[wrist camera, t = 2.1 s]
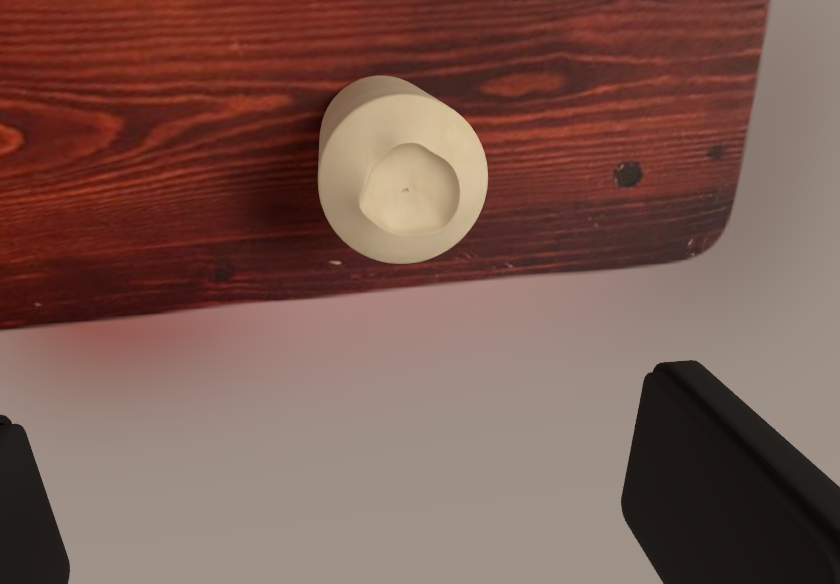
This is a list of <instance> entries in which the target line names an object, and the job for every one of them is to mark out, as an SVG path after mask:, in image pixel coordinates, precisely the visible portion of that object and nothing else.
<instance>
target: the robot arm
mask: <svg viewBox="0 0 840 584" xmlns="http://www.w3.org/2000/svg"><path fill="white" fill-rule="evenodd" d="M621 505H622V512H623V516H624V518H625V521H626V522H627V524H628V526H629V527H630V529H631V531H632V533H633V534H634V536H635V538H636V539H637V541H638V542H639V544H640V546H641V547H642V549H643V551H644V552H645V554H646V556H647V557H648V559H649V560H650V562H651V564H652V565H653V567H654V569H655V570H656V572H657V574H658V575H659V577H660V578H661V580H662V582H663V583H664V584H840V487H839V486H838V485H837V484H835V483H834V482H833V481H832V480H831V479H830V478H829V477H828V476H826V475H825V474H824V473H823V472H822V471H821V470H820V469H818V468H817V467H816V466H815V465H814V464H813V463H812V462H811V461H810V460H808V459H807V458H806V457H805V456H804V455H803V454H802V453H800V452H799V451H798V450H797V449H796V448H795V447H794V446H793V445H792V444H790V443H789V442H788V441H787V440H786V439H785V438H784V437H782V436H781V435H780V434H779V433H778V432H777V431H776V430H775V429H774V428H772V427H771V426H770V425H769V424H768V423H767V422H766V421H765V420H763V419H762V418H761V417H760V416H759V415H758V414H756V412H754V411H753V410H752V409H751V408H750V407H749V406H748V405H746V404H745V403H744V402H743V401H742V400H741V399H740V398H739V397H738V396H736V395H735V394H734V393H733V392H732V391H731V390H730V389H728V388H727V387H726V386H725V385H724V384H723V383H722V382H721V381H720V380H718V379H717V378H716V377H715V376H714V375H713V374H712V373H711V372H709V371H708V370H707V369H706V368H705V367H704V366H703V365H702V364H700V363H699V362H697V361H692V360H690V361H677V362H664V363H659V364H657V365H656V367H655V368H654V370H653V372H652V373H648V374H647V375H646V377H645V379H644V382H643V388H642V393H641V398H640V404H639V409H638V414H637V419H636V424H635V430H634V435H633V440H632V446H631V451H630V456H629V461H628V466H627V472H626V477H625V482H624V487H623V493H622V498H621ZM69 573H70V564H69V559H68V556H67V553H66V550H65V547H64V544H63V541H62V538H61V535H60V532H59V530H58V526H57V523H56V521H55V518H54V515H53V512H52V509H51V506H50V503H49V500H48V497H47V494H46V491H45V488H44V485H43V482H42V479H41V476H40V473H39V470H38V467H37V464H36V461H35V458H34V456H33V452H32V449H31V446H30V443H29V440H28V437H27V435H26V432H25V430H24V429H23V427H22V426H21V425H19V424H12V422H11V420H10V419H8V418H7V417H6V416H4V415H0V584H68V580H69Z"/></svg>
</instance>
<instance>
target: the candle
mask: <svg viewBox="0 0 840 584" xmlns="http://www.w3.org/2000/svg"><path fill="white" fill-rule="evenodd" d="M487 184H488V170H487V162H486V157H485V154H484V151H483V148H482V145H481V143H480V141H479V139H478V137H477V135H476V133H475V132H474V130H473V129H472V127H471V126H470V125H469V124H468V123H467V122H466V120H465V119H464V118H463V117H462V116H461V115H459V114H458V113H457V112H456V111H455V110H453V109H452V108H450V107H448V106H447V105H445V104H444V103H442V102H440V101H439V100H437V99H436V98H434V97H432V96H431V95H429V94H428V93H426V92H424V91H423V90H421V89H419V88H418V87H416V86H415V85H413V84H411V83H409V82H407V81H405V80H402V79H399V78H396V77H391V76H371V77H366V78H363V79H360V80H357V81H355V82H353V83H351V84H350V85H348V86H346V87H345V88H344V89H343V90H341V91H340V92H339V93H338V94H337V95H336V96H335V97H334V99H333V100H332V102H331V103H330V104H329V106H328V108H327V110H326V112H325V114H324V117H323V120H322V124H321V129H320V139H319V163H318V190H319V196H320V202H321V205H322V208H323V211H324V214H325V216H326V218H327V220H328V222H329V223H330V225H331V226H332V228H333V229H334V231H335V232H336V233H337V235H338V236H339V237H340V238H341V239H342V240H343V241H344V242H345V243H346V244H348V245H349V246H350V247H351V248H353V249H354V250H356V251H357V252H359V253H361V254H363V255H365V256H367V257H369V258H372V259H375V260H377V261H382V262H386V263H395V264H408V263H415V262H421V261H424V260H428V259H431V258H433V257H435V256H438V255H440V254H442V253H443V252H445V251H447V250H449V249H450V248H451V247H453V246H454V245H455V244H457V243H458V242H459V241H460V240H461V239H462V238H463V237H464V236H465V235H466V234H467V232H468V231H469V230H470V229H471V228H472V226H473V224H474V223H475V221H476V220H477V218H478V216H479V214H480V212H481V209H482V207H483V204H484V201H485V197H486V192H487Z"/></svg>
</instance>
